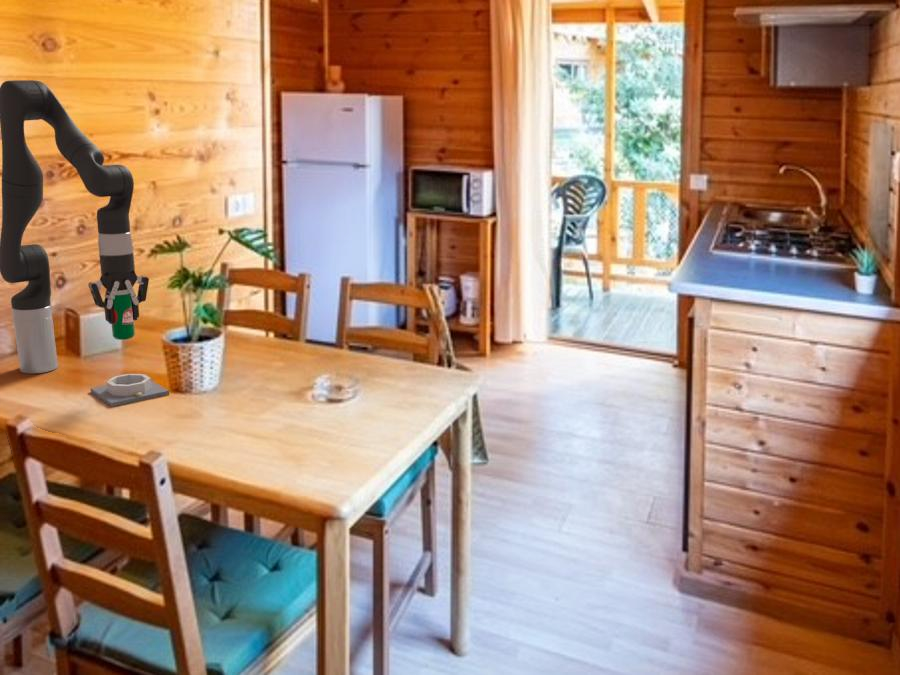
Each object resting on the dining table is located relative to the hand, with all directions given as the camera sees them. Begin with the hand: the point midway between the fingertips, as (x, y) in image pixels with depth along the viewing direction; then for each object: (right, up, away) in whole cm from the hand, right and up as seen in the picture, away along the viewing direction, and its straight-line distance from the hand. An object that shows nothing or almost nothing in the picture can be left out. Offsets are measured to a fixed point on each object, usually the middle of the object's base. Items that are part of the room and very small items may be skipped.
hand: (122, 321), depth 206 cm
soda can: (0, -4, +1) cm, 4 cm away
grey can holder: (0, -18, +5) cm, 18 cm away
